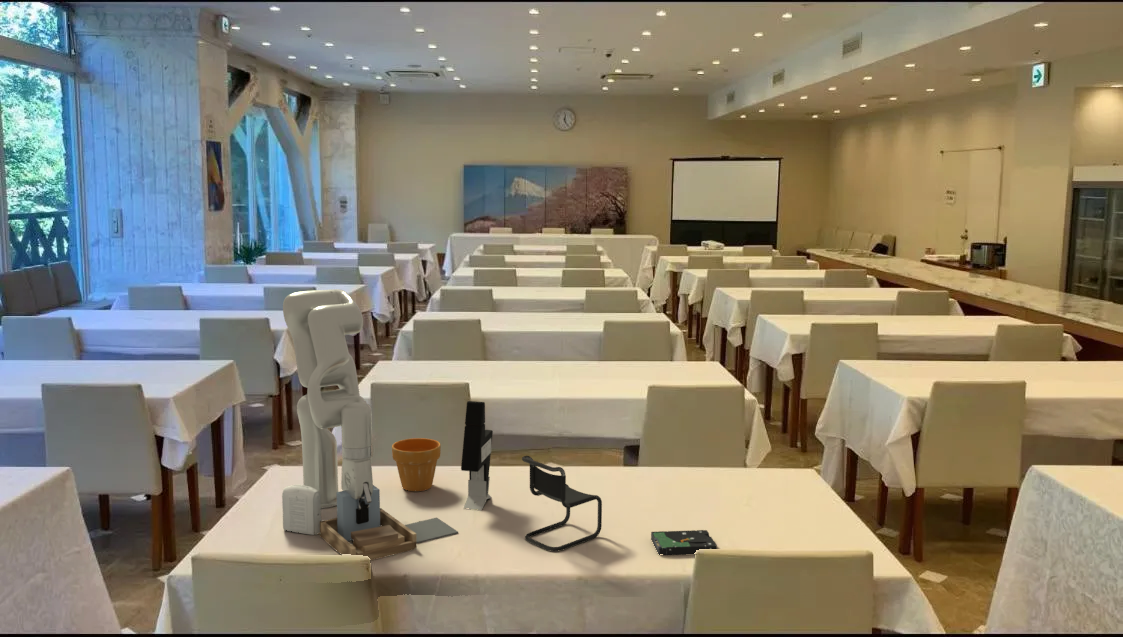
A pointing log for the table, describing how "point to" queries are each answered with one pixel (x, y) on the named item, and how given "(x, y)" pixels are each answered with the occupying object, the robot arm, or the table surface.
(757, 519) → the table surface
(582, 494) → the chair
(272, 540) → the table surface
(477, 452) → the award
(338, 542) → the wooden frame
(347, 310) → the robot arm
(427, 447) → the flower pot
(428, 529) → the mat
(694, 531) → the disk drive
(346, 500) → the rectangular block
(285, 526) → the white rounded tombstone
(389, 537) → the offcut stack
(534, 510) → the table surface
